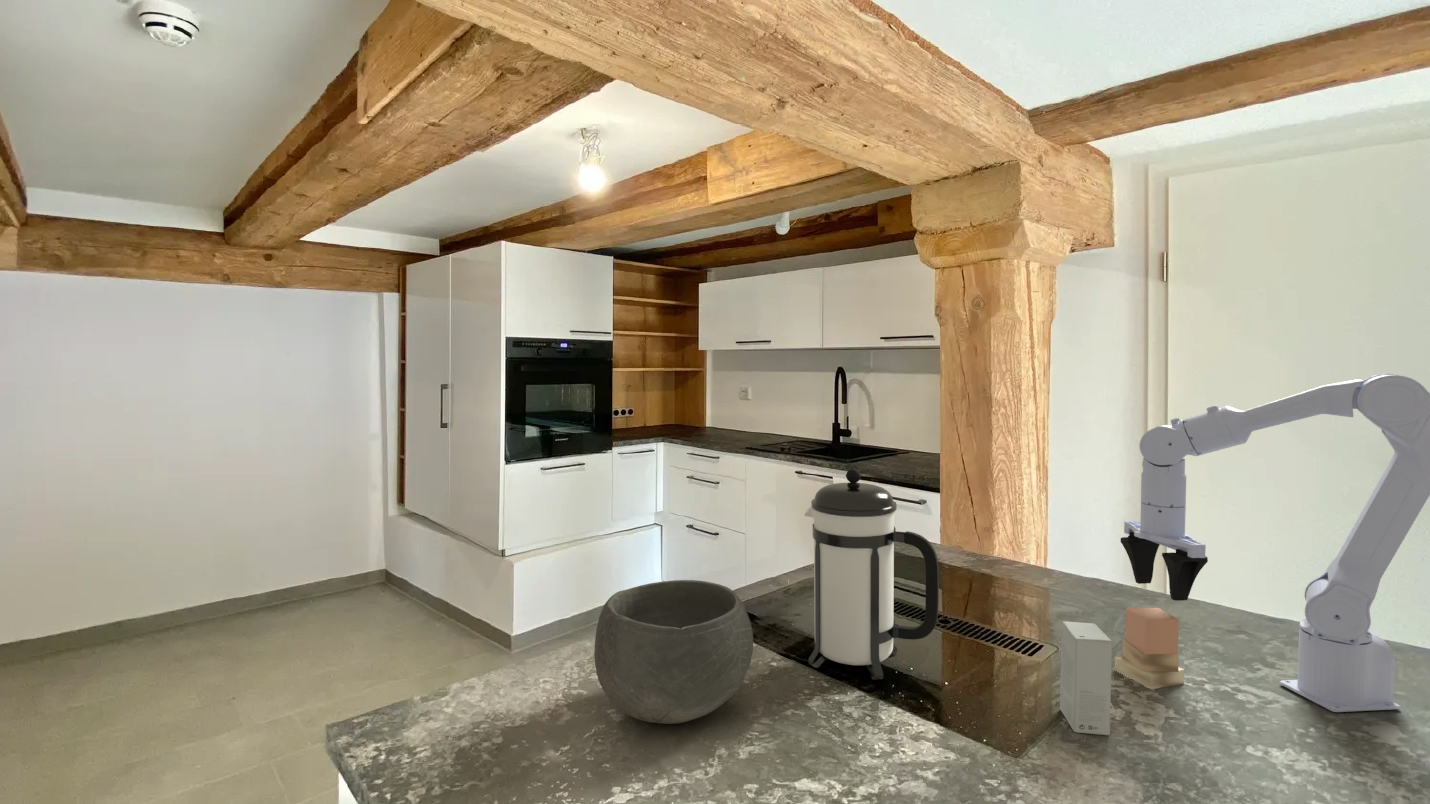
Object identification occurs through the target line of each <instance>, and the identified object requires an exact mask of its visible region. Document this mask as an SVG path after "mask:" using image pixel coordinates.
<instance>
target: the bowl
mask: <svg viewBox="0 0 1430 804" xmlns="http://www.w3.org/2000/svg"><path fill="white" fill-rule="evenodd" d="M753 649H754V633H753V627H752V623H751V619H750V617H749V614H748V611H747V609H746V607H745V605H744V602H743V601H742V600H741V598H740V597H739V596H738V594H737V593H736V592H735V591H734V590H732V589H731V588H729V587H727V586H725V585H722V584H721V583H720V584H719V583H715V582H712V581H711V582H710V581H704V580H697V579H696V580H695V579H678V580H677V579H676V580H665V581H664V580H663V581H656V582H652V583H645V584H641V585H639V586H634V587H630V588H627V589H623V590H619V591H616V592H614V594H612V595H611V596H610V597H609V598H608V599H607V600H606V602H605V603H604V604H603V606H602V610H601V612H600V615H599V616H598V621H597V625H596V631H595V638H594V651H593V652H594V655H593V656H594V665H595V666H594V667H595V671H596V675H597V680H598V681H599V685H600V688H601V689H602V691H603V692H604V694H605V696H606V697H607V699H608V700H609V701H610V703H611V704H613V705H614V706H615V707H616V708H617V709H619V710H620V711H621V712H623V713H624V714H625V715H627V716H629V717H632V718H634V719H637V720H639V721H643V722H647V723H652V724H653V723H654V724H655V723H656V724H667V725H668V724H669V725H670V724H671V725H673V724H681V723H687V722H689V721H693V720H696V719H698V718H701V717H704V716H706V715H708V714H710V713H712V712H714V711H716V710H718V708H720V707H721V706H722V705H724V704H725V703H726V702H727V701H729V700H730V699H731V698H732V697H733V696H734V695H735V694H736V693H737V692H738V690H739V689H740V688H741V686H742V684H743V682H744V680H745V679H746V676H747V673H748V670H749V668H750V665H751V662H752V657H753V651H754V650H753Z"/></svg>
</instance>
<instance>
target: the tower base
mask: <svg viewBox="0 0 1430 804" xmlns="http://www.w3.org/2000/svg"><path fill="white" fill-rule="evenodd" d="M1114 671H1115V672H1116V671H1117V672H1116V673H1118V672H1119V673H1118V674H1120V673H1121V674H1120V675H1122V674H1123V675H1122V676H1124V675H1126V676H1128V677H1129V678H1128V677H1127V678H1128V679H1130V678H1131V679H1133V680H1135V681H1137V682H1139V683H1141V684H1142V686H1143V685H1144V686H1143V687H1145V688H1147V689H1149V690H1155V689H1160V688H1161V687H1162V688H1167V687H1172V686H1177V685H1183V683H1184V684H1185V669H1184V668H1181V667H1180V666H1178V672H1162V671H1141V670H1140V669H1138V668H1137V667H1136V666H1135V665H1133V664H1132V663H1131V662H1130V661H1128V660H1127V659H1126V658H1124V657H1123V656H1122V655H1121V656H1117V657H1114ZM1126 676H1125V677H1126ZM1131 679H1130V680H1131ZM1133 680H1132V681H1133ZM1135 681H1134V682H1135ZM1137 682H1136V683H1137ZM1139 683H1138V684H1139ZM1141 684H1140V685H1141ZM1162 688H1161V689H1162Z"/></svg>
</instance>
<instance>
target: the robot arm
mask: <svg viewBox="0 0 1430 804" xmlns="http://www.w3.org/2000/svg"><path fill="white" fill-rule="evenodd" d="M1354 410H1358V411H1359V412H1360V413H1361V415H1363V416H1364V417H1365V418H1366V419H1367V420H1369V421H1370V422H1371V423H1372V424H1373V425H1375V426H1376V427H1378V428H1379V429H1380V430H1381V433H1382V435H1384V438H1385V439H1386V440H1387V442H1388V444H1390V446H1391V448H1392V449H1393V451H1394V454H1393V455H1392V457H1391V459H1390V460H1389V462H1388V464H1387V465H1386V468H1385V469H1384V471H1383V473H1382V475H1381V477H1380V478H1379V481H1378V482H1377V483H1376V486H1375V487H1374V489H1373V491H1372V493H1371V495H1370V496H1369V498H1368V500H1367V502H1366V504H1364V507H1363V509H1362V511H1361V512H1360V514H1359V516H1358V518H1357V519H1356V521H1355V523H1354V525H1353V527H1352V528H1351V530H1350V532H1349V534H1348V536H1347V538H1346V539H1345V541H1344V543H1343V545H1342V546H1341V548H1340V550H1339V552H1338V554H1337V555H1336V557H1335V558H1334V559H1333V560H1331V562H1330V563H1329V564H1328V566H1327V568H1326V570H1324V573H1322V574H1321V575H1320V576H1318V577H1316V578H1314V579H1312V580H1311V581H1310V582H1309V583H1308V584H1306V587H1305V590H1304V599H1305V602H1306V604H1305V607H1304V616H1305V618H1304V619H1302V620H1301V621H1300V622H1299V631H1298V657H1297V658H1298V659H1297V661H1298V662H1297V679H1288V680H1287V679H1286V680H1280V681H1279V684H1280V685H1281V686H1283V687H1285V688H1286V689H1288V690H1290V691H1292V692H1294V693H1296V694H1298V695H1300V696H1302V697H1304V698H1306V699H1308V700H1309V701H1311V702H1313V703H1315V704H1317V705H1318V706H1321V707H1323V708H1324V709H1327V710H1328V711H1330V712H1334V713H1344V712H1347V713H1348V712H1365V711H1367V712H1369V711H1386V710H1388V711H1389V710H1400V707H1401V705H1399V704H1398V703H1396V702H1394V688H1395V685H1394V684H1395V668H1396V667H1395V666H1396V665H1395V663H1396V662H1395V655H1394V653H1393V650H1392V649H1391V647H1390V645H1389V644H1388V642H1386V641H1385V640H1384V639H1383V638H1382V637H1380V636H1379V635H1377V634H1375V633H1374V632H1371V631H1369V630H1370V628H1371V623H1372V622H1371V621H1372V619H1371V612H1370V611H1371V606H1372V604H1373V602H1374V600H1375V599H1376V596H1377V592H1378V589H1379V585H1380V582H1381V579H1382V577H1383V575H1385V572H1386V571H1387V569H1388V567H1389V565H1390V564H1391V562H1392V560H1393V559H1394V557H1395V556H1396V554H1397V552H1398V550H1399V549H1400V547H1401V545H1402V544H1403V541H1404V540H1405V538H1406V537H1407V535H1408V533H1409V531H1410V530H1411V528H1412V526H1413V524H1414V523H1415V521H1416V519H1417V518H1418V516H1419V514H1420V512H1421V511H1422V509H1423V508H1424V506H1425V504H1426V502H1427V500H1429V497H1430V392H1429V391H1428V390H1427V388H1426V387H1425V386H1424V385H1422V383H1420V382H1419V381H1417V380H1416V379H1414V378H1412V377H1408V376H1404V375H1399V374H1394V373H1382V374H1380V373H1379V374H1375V375H1372V376H1369V377H1367V378H1365V379H1364V380H1363V379H1360V378H1358V379H1357V378H1356V379H1351V380H1346V381H1340V382H1335V383H1329V384H1325V385H1320V386H1318V387H1314V388H1311V389H1307V390H1306V391H1305V390H1304V391H1301V392H1300V393H1299V392H1298V393H1296V394H1295V393H1294V394H1292V395H1289V396H1286V397H1283V398H1280V399H1277V400H1274V401H1271V402H1267V403H1264V404H1261V405H1258V406H1254V407H1252V408H1248V409H1245V410H1241V409H1238V408H1235V407H1233V406H1229V405H1225V406H1222V407H1219V406H1218V405H1217V404H1215V405H1212V406H1208V407H1207V408H1206V412H1202V413H1200V414H1195V415H1193V416H1189V417H1186V418H1182V419H1180V418H1179V417H1175V418H1172V419H1170V424H1171V425H1169V424H1161V425H1158V426H1157V425H1156V426H1155V427H1154V428H1151V429H1149V430H1148V431H1146V432H1145V433H1144V434H1143V435H1142V437H1141V438H1140V440H1139V441H1140V442H1139V451H1140V454H1141V455H1142V457H1143V458H1142V462H1141V463H1142V464H1141V465H1142V472H1141V480H1140V482H1141V483H1140V485H1141V486H1140V521H1137V520H1133V521H1132V520H1130V521H1129V520H1128V521H1126V520H1125V521H1124V523H1123V524H1124V525H1123V526H1124V527H1123V528H1124V529H1123V530H1124V531H1123V533H1124V534H1126V535H1127V536H1123V537H1120V543H1121V544H1122V547H1123V548H1124V549H1125V552H1126V554H1127V556H1128V559H1129V561H1130V562H1129V563H1130V565H1131V569H1132V572H1133V573H1132V574H1133V576H1134V581H1135V584H1138V585H1139V584H1141V585H1143V584H1152V580H1153V575H1154V566H1155V560H1156V556H1157V552H1158V550H1159V548H1160V546H1162V547H1166V548H1168V549H1170V550H1171V549H1172V550H1174V551H1175V552H1174V551H1173V552H1162V553H1161V556H1162V558H1163V560H1164V563H1165V566H1166V570H1167V573H1168V584H1169V595H1170V599H1171V600H1173V601H1177V602H1178V601H1188V599H1189V595H1190V593H1191V590H1192V588H1193V585H1194V582H1195V580H1196V578H1197V577H1198V574H1199V573H1200V571H1201V570H1203V567H1204V566H1206V564H1207V563H1208V561H1209V559H1208V558H1209V557H1208V556H1207V555H1206V544H1205V543H1202V542H1200V541H1197V539H1194V538H1193V537H1191V536H1190V535H1189V534H1186V506H1187V505H1186V504H1187V503H1186V501H1187V475H1186V459H1185V457H1186V456H1193V457H1198V456H1199V457H1200V456H1203V455H1206V454H1210V453H1214V452H1218V451H1221V450H1224V449H1225V450H1226V449H1229V448H1232V447H1237V446H1239V445H1243V444H1246V443H1247V442H1248V440H1249V437H1250V436H1251V435H1252V433H1253V432H1254V431H1258V430H1259V431H1260V430H1263V429H1267V428H1271V427H1274V426H1275V427H1276V426H1279V425H1282V424H1287V423H1291V422H1294V421H1300V420H1303V419H1307V418H1312V417H1314V416H1319V415H1331V416H1337V417H1347V418H1354Z"/></svg>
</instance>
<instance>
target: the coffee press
mask: <svg viewBox="0 0 1430 804" xmlns="http://www.w3.org/2000/svg"><path fill="white" fill-rule="evenodd" d="M845 477H846V479H847V481H848V482H838V483H836V482H835V483H832V484H827V485H825V486H823V487H821V488H820V489H818V491H817V492H816V493H815V496H814V498H813V499H812V500H811V502H810V503H811V504H810V505H811V506H810V507H808V509H807V510H806V511H805V513H804V516H805V517H808V518H810V517H811V518H813V524H812V539H813V550H814V551H813V553H814V555H813V563H814V564H813V567H814V569H813V572H814V573H813V574H814V575H813V578H814V579H813V580H814V581H813V583H814V586H813V589H814V590H813V591H814V592H813V593H814V595H813V600H814V604H813V607H814V608H813V609H814V613H813V615H814V617H813V618H814V621H813V622H814V649H813V651H812V652H811V654H810V655H809V657H808V659H807V660H808V664H809V665H810V666H811V667H812V668H814V669H819V668H820V667H821V666H822V665H823V663H824V662H826V661H827V660H830V661H833V662H836V663H839V664H843V665H848V666H849V665H850V666H865V667H866V668H867V671H868V673H869V676H870V678H871V681H872V680H873V681H876V680H877V681H878V680H882V679H883V678H884V671H883V669H882V665H881V663H882V662H883V661H885V660H887V659H888V658H889V656H895V655H896V654H897V653H898V648H897V646H896V644H895V643H894V639H901V640H902V639H903V640H920V639H924V638H926V637H927V636H929V635H931V634H932V631H934V629H935V627H936V625H937V623H938V622H937V621H938V618H939V617H938V616H939V601H940V600H939V599H940V597H939V596H940V594H939V592H940V590H939V589H940V587H939V586H940V584H939V583H940V580H939V579H940V578H939V576H940V575H939V574H940V573H939V570H940V569H939V560H938V556H937V552H936V549H935V548H934V546H933V545H932V544H931V542H930V541H929V540H928V539H927V538H926V537H924V536H922V535H921V534H919V533H917V532H913V531H907V530H906V531H896V527H895V518H894V517H895V513H896V511H897V507H898V506H897V503H896V501H895V500H894V499H893V496H892V493H890V492H889V491H888V490H887V489H886V488H884V487H882V486H879V485H876V484H872V483H865V482H859V481H860V479H861V477H862V475H861V472H860V471H859V470H858V469H857V468H851V469H848V470H847V471H846V474H845ZM895 542H896V543H901V544H902V543H903V544H905V545H910V546H913V547H914V548H916V549H917V550H919V552H920V553H921V554H922V557H923V559H924V564H925V611H924V620H923V621H922V622H921V624H919V625H917V626H906V625H905V626H904V625H900V624H896V621H895V619H894V612H895V611H894V609H895V608H894V603H895V602H894V599H895V598H894V597H895V596H894V593H895V592H894V587H895V584H894V579H895V577H894V576H895V575H894V574H895V573H894V571H895V567H894V566H895V565H894V564H895V563H894V562H895V560H894V559H895V552H894V551H895V549H894V548H895V547H894V546H895ZM819 653H820V654H821V656H820V657H818V656H819ZM817 657H818V659H817ZM816 659H817V660H816ZM815 660H816V661H815Z"/></svg>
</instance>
